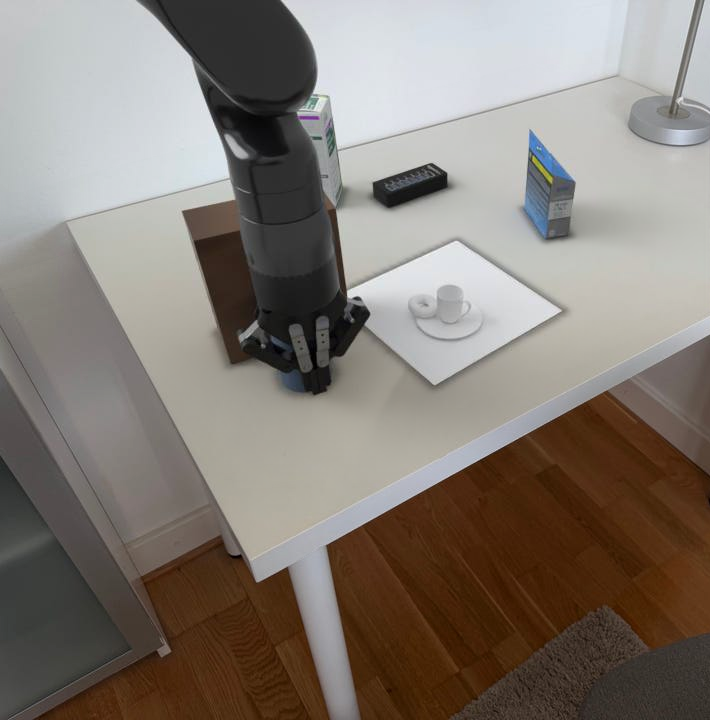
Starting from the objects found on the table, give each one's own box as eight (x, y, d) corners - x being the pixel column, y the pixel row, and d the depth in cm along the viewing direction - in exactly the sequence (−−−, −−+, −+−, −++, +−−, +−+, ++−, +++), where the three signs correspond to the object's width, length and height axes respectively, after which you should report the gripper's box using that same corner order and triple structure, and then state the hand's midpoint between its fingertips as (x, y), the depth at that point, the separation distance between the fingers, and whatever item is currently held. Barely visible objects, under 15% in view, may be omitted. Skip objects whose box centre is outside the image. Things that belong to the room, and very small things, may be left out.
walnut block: (230, 364, 75) (193, 240, 65) (218, 332, 79) (181, 210, 68) (351, 328, 80) (336, 208, 70) (335, 300, 84) (317, 181, 73)
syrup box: (336, 208, 100) (323, 111, 90) (296, 207, 100) (278, 109, 90) (343, 189, 104) (331, 93, 94) (304, 187, 104) (288, 92, 94)
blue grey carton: (570, 236, 96) (581, 153, 88) (544, 240, 95) (553, 157, 87) (546, 204, 102) (554, 124, 94) (522, 208, 101) (528, 127, 93)
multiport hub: (372, 196, 103) (371, 182, 101) (432, 175, 108) (431, 161, 106) (388, 208, 100) (387, 194, 99) (448, 186, 105) (448, 173, 104)
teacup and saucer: (398, 313, 83) (396, 286, 80) (449, 288, 87) (449, 261, 84) (444, 351, 78) (444, 323, 75) (496, 322, 82) (498, 295, 79)
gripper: (348, 211, 64) (365, 348, 76) (203, 244, 60) (244, 385, 72) (377, 252, 60) (390, 392, 71) (222, 292, 55) (263, 434, 67)
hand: (317, 388), depth 71 cm, fingers closed
